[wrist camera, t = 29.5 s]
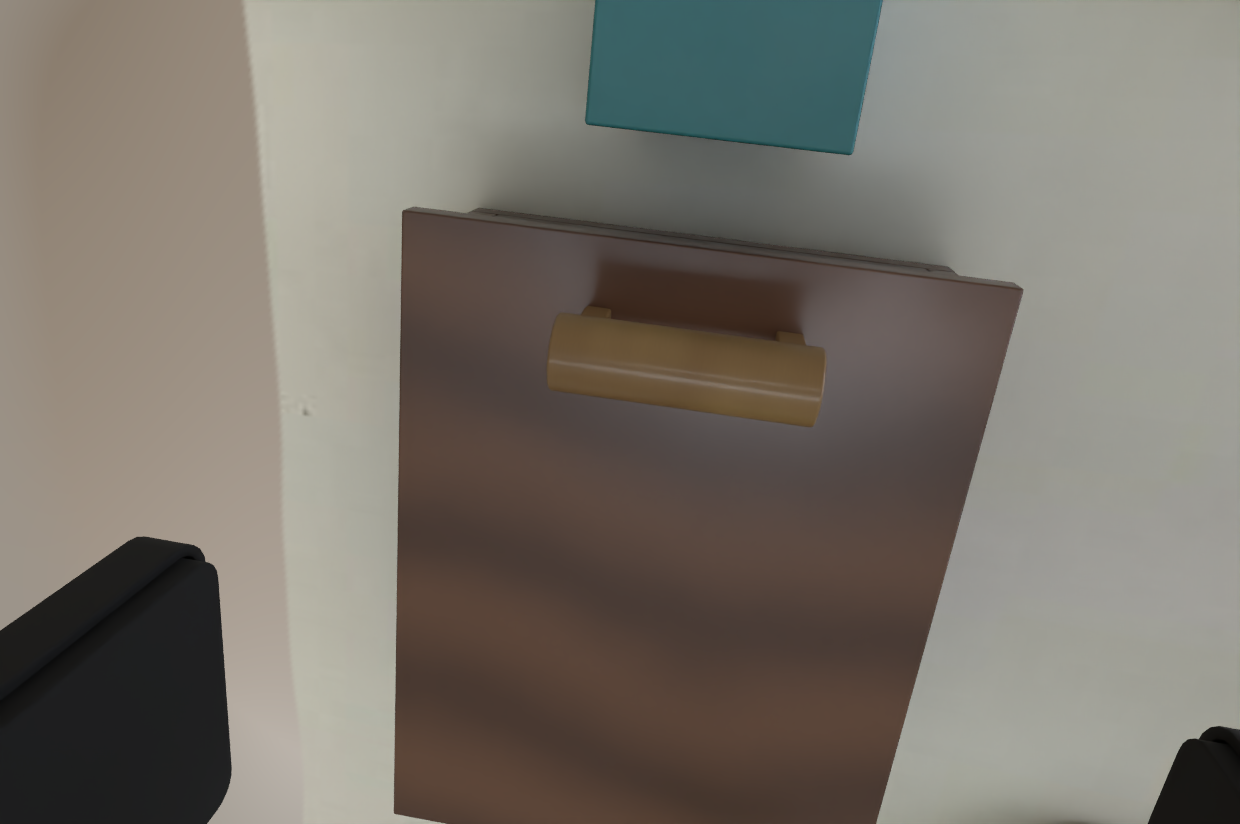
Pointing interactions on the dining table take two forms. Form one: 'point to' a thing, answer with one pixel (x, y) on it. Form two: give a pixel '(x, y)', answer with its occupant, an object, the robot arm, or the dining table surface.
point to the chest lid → (670, 520)
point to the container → (734, 69)
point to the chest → (714, 241)
